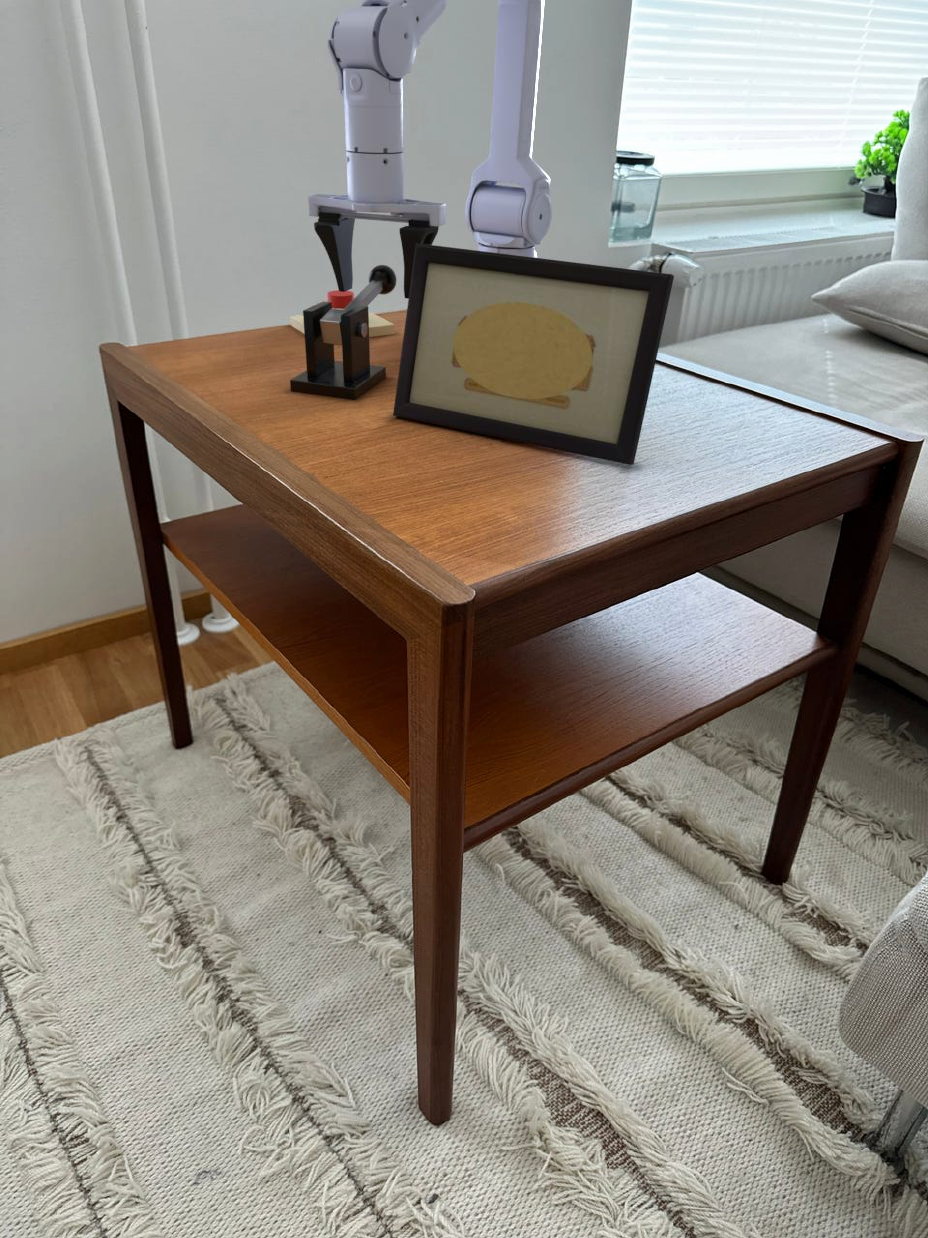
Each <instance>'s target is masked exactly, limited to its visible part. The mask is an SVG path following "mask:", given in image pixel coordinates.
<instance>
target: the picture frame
mask: <svg viewBox="0 0 928 1238" xmlns="http://www.w3.org/2000/svg"><path fill="white" fill-rule="evenodd" d="M674 278H675V275H674V274H672V273H665V272H658V271H649V270H640V269H633V268H623V267H615V266H606V265H600V264H591V263H590V264H589V263H582V262H575V261H565V260H557V259H550V258H541V257H537V258H534V257H526V256H517V255H509V254H501V253H493V252H485V251H478V250H477V249H476V250H475V249H467V248H461V247H460V248H459V247H450V246H441V245H436V244H435V245H433V244H432V245H427V244H419V243H416V247H415V255H414V262H413V270H412V277H411V285H410V292H409V299H408V300H407V308H406V316H405V323H404V332H403V338H402V344H401V352H400V360H399V368H398V369H399V370H398V375H397V382H396V389H395V396H394V397H395V398H394V404H393V412H392V416H393V417H398V418H404V419H408V420H414V421H417V422H423V423H428V424H433V425H437V426H442V427H447V428H451V429H457V430H462V431H464V432H465V431H466V432H470V433H475V434H480V435H484V436H489V437H494V438H500V439H504V440H509V441H514V442H518V443H523V444H528V445H532V446H536V447H537V446H538V447H542V448H545V449H552V450H556V451H561V452H565V453H566V452H567V453H571V454H575V455H580V456H585V457H590V458H594V459H599V460H604V461H610V462H613V463H618V464H623V465H628V466H634V465H635V461H636V455H637V451H638V446H639V442H640V438H641V437H640V436H641V431H642V428H643V423H644V419H645V413H646V408H647V404H648V400H649V395H650V390H651V386H652V381H653V378H654V377H653V376H654V372H655V367H656V362H657V358H658V354H659V353H658V352H659V349H660V344H661V339H662V335H663V330H664V325H665V321H666V315H667V312H668V311H667V310H668V307H669V302H670V298H671V292H672V288H673V285H674V284H673V283H674V280H675V279H674Z"/></svg>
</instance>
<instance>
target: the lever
mask: <svg viewBox="0 0 928 1238" xmlns="http://www.w3.org/2000/svg"><path fill="white" fill-rule="evenodd" d="M396 285H397V275H396V272H395V271H394V269H393V268H392V267H390V266H388V265H387V264H386V265H385V264H378V265H376V266H374V267H373V268H372V269H371V270H370V272H369V274H368V284H367V285H366V286H365V287H364V288H363V289H361V290H360V292H359V293H358V294H357V295H356V296H354V299H353V300H352V301H351V302H350V303H349V304H348V305H347V306H346V307H345V308H344V310H338V309H330V310H329V311H328V312H327V313H326V314H325V315H324V316H323V317H322V318H321V319H320V327H321V334H322V340H323V343H326V344H334V346H335V345H336V346H342V331H341V315H342V314H344V313H345V312H347V311H349V310H351V309H353V308H355V307H357V306H359V305H362V306H368V307H369V305H370V304H371V303H372V302H373V301H374V300H375V298H377V297H378V295H388V294H390V293H391V292H393V291H394V289H395V288H396Z"/></svg>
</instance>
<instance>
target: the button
mask: <svg viewBox="0 0 928 1238" xmlns="http://www.w3.org/2000/svg"><path fill="white" fill-rule="evenodd" d="M326 293H327V294H326V295H327V300H328V302H332V308H335V309H344V308H345V307H346V306H347V305H348V304H349V303H350V302H351V301H352V300H353V299H354V298H355V292H353V291H351V290H348V291H345V292H340V291H339V289H337V290H331V291H328V292H326Z"/></svg>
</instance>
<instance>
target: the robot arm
mask: <svg viewBox="0 0 928 1238" xmlns="http://www.w3.org/2000/svg"><path fill="white" fill-rule="evenodd" d="M447 1H448V0H363V2H362V3H361V5H358V6H357V5H354V6H352V5H351V6H346V7H345V8H344V9H342V10H341V11H340V13H339V14H338V15H337V16H336V18H335V19H334V21H333V24H332V27H331V29H330V30H331V31H330V39H328V40H327V49H328V50H327V51H328V54H329V57H330V61H331V64H332V65H333V68H334V69H335V72H336V77H337V89H338V90H339V92H340V96H341V97H342V98H343V111H344V137H345V161H346V163H345V164H346V189H347V190H346V191H347V194H322V193H321V194H320V193H315V194H310V195H308V196H307V209H308V216H309V217H315V218H316V217H317V221H314V223H313V228H314V231H315V233H316V235H317V236H318V238H319V240H320V242H321V243H322V245H323V247H324V250H325V251H326V254H327V256H328V259H329V261H330V264H331V267H332V270H333V273H334V276H335V280H336V284H337V290H339V291H340V292H345V291H351V289H353V282H354V281H353V280H354V275H353V273H354V272H353V255H352V254H353V240H354V239H353V238H354V229H355V222H356V220H366V221H367V220H368V221H381V222H391V223H392V222H393V223H402V224H403V223H405V224H408V225H404V226H402V227H400V228H399V236H400V242H401V250H402V256H403V296H404V299H408V300H409V292H410V285H411V277H412V270H413V262H414V255H415V247H416V243H419V244H427V245H433V243H434V241H435V239H436V238H437V235H438V232H439V229H440V228H439V227H441V226H444V225H445V224H446V203H441V202H432V201H425V200H419V199H418V200H417V199H410V198H405V194H404V193H405V191H404V189H405V185H404V183H405V182H404V172H405V171H404V83H403V82H404V77H405V76H407V74H410V73H411V71H412V70H413V67H414V65H415V61H416V55H417V49H418V47H419V45H420V44H421V40H422V37H423V36H424V35H425V34H426V32H428V30H429V29H430V28H431V27H432V26H433V25H434V23H435V22H436V21H437V20H438V19H439V18H440V17H441V16H442V14H443V13H444V11H445V9H446V7H447ZM497 3H498V6H497V7H498V8H497V10H498V11H497V24H496V25H497V26H496V39H495V40H496V41H495V57H494V59H495V60H494V72H493V91H492V106H491V123H490V139H489V154H488V155H489V156H488V157H487V158H486V159H485V160H484V161H483V162H482V163H480V165H478V167H476V168H475V169H474V170H473V171H472V173H471V183H470V188H469V192H468V194H467V195H468V196H467V197H466V201H465V206H464V218H465V222H466V226H467V229H468V230H469V232H470V234H472V235H473V242H474V243H475V242H476V243H478V249H477V251H485V252H493V253H501V254H509V255H517V256H526V257H534V258H538V254H537V252H536V249H535V248H536V246H538V245H540V244H541V242H542V240H543V239H544V238H545V236H547V233H548V231H549V229H550V227H551V223H552V217H553V207H552V206H553V205H552V201H551V178H550V176H549V175H548V174H547V173H546V172H545V171H544V169H542V168H541V166H539V164H538V163H537V162H536V161H535V160H534V159H533V158H532V156H533V143H534V134H535V133H534V131H535V120H536V110H537V109H536V107H537V97H538V95H537V94H538V83H539V71H540V61H541V48H542V47H541V46H542V37H543V36H542V35H543V23H544V11H545V10H544V9H545V0H497ZM498 183H507V184H516V185H519V186H521V187H519V186H509V185H502V184H501V185H499V184H498ZM377 213H378V214H377ZM379 213H381V214H379Z"/></svg>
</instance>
